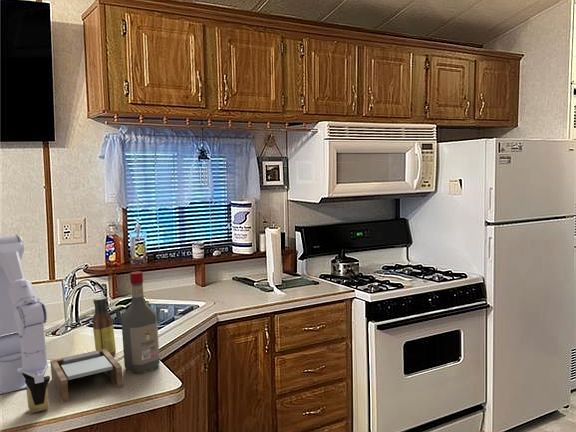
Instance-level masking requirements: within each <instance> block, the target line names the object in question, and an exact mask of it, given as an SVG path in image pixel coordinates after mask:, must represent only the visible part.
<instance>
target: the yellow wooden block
mask: <svg viewBox="0 0 576 432" xmlns="http://www.w3.org/2000/svg"><path fill="white" fill-rule="evenodd" d="M25 389H26V398H27V399H26V400H27V407H28V410H29V413H30V414H33V413H38V412H41V411H46V410H48V409H50V405H49V404H50V403H49V392H48V390H49V389H48V387H47V388H46V393H45V400H44V403H43V404H39V405H35V404H34V401H33V398H32V394H31V391H30V389H29V387H28V386H27V385H26V388H25Z"/></svg>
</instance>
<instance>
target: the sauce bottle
mask: <svg viewBox="0 0 576 432" xmlns="http://www.w3.org/2000/svg"><path fill="white" fill-rule="evenodd" d="M107 301H108V299H107V297H106V296H97V297H95V298H93V304H94V314H93V317H92V329H93V330H92V331H93V338H94V340H93V341H94V347H95V351H97V350H102V349H106V350H107V351H108V352H109V353H110V354H111V355H112V356H113V357H114V355H115V356H116V354H117V353H116V349H117V348H116V347H117V346H116V340H115V330H114V324H113V323H114V322H113V319H112V316H111V315H110V313H109V311H108V305H107Z"/></svg>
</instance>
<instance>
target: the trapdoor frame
mask: <svg viewBox="0 0 576 432" xmlns="http://www.w3.org/2000/svg"><path fill="white" fill-rule="evenodd" d="M98 352H99V353H100V357H101V356H105V358H106V359H107V360H108V361H109V362H110V364H111V365H112V366H113V370H109V371H104V373H105V372H106V373H107V374H106V373H105V374H106V375H107V376H108V378H109V379H110V381H111V382H112V383H113V384H114V385H115V387H116V388H117V389H120V388H121V389H122V388H124V383H123V381H124V379H123V378H124V377H123V366H122V365H121V364H120V363H119V362H118V360H117V359H116V358H115V357H114V356H112V355H111V354H110V353H109V352H108V351H107V350H106V349H102V350H98ZM62 358H63V357H61V358H57V359H52V360H50V361H49V362H50V375H51V382H52V384H53V385H54V387H55V389H56V392H57V394H58V395H59V398H60V400H61V402H62V403H66V402H70V400H69V399H70V398H69V388H68V387H69V386H68V384H69V383H68V379H67V378H66V376H65V374H64V372H63V371H62V369H61V365H63V359H62Z"/></svg>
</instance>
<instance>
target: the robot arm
mask: <svg viewBox="0 0 576 432" xmlns="http://www.w3.org/2000/svg"><path fill="white" fill-rule="evenodd" d="M24 251H25V244H24V239H23V238H22V236H21V235H19V234H15V235H5V236H0V395H3V394H7V393H11V392H16V391H20V390H24V389H27V388H26V385H27V386H28V387H29V389H30V391H31V394H32V398H33V401H34V404H35V405H39V404H43V403H44V400H45V393H46V388H47V389H48V385H49V382H50V381H51V377H50V375H46V376H45V374H46V372H47V370H48V368H49V363H48V360H47V349H46V348H47V346H46V338H45V337H46V334H45V324H46V323H47V320H48V313H47V308H46V306H45V303H44V302H43V301H42V300H41V298H38V296H37V294H36V292H35V289H34V285H33V283H32V281H30V280H29V279H26V277H25V273H24V271H23V266H22V262H21V260H22V259H23V254H24V253H25V252H24Z"/></svg>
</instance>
